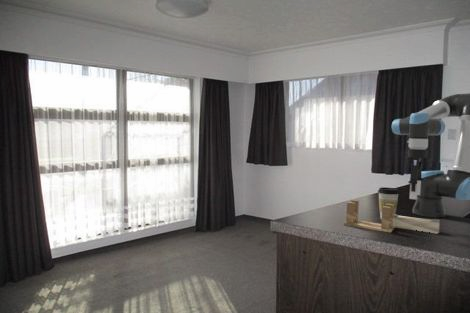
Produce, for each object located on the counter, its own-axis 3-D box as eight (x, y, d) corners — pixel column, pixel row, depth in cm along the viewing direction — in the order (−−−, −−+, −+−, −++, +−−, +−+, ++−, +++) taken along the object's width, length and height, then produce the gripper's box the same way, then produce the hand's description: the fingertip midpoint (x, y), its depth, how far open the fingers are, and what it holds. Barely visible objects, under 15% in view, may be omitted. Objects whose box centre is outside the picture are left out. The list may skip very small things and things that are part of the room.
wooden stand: (349, 221, 173) (350, 199, 172) (394, 228, 162) (395, 204, 162) (343, 225, 166) (344, 202, 165) (390, 232, 155) (392, 208, 154)
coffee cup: (389, 222, 173) (391, 190, 172) (372, 217, 181) (373, 187, 180) (402, 220, 178) (404, 189, 177) (384, 215, 186) (386, 186, 185)
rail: (389, 225, 169) (390, 213, 168) (438, 232, 158) (439, 220, 158) (387, 226, 165) (388, 215, 165) (438, 234, 155) (439, 221, 154)
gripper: (411, 147, 172) (409, 192, 173) (404, 148, 151) (401, 199, 152) (429, 148, 168) (427, 194, 169) (424, 149, 147) (421, 202, 148)
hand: (414, 196), depth 161 cm, fingers open, 13 cm apart
